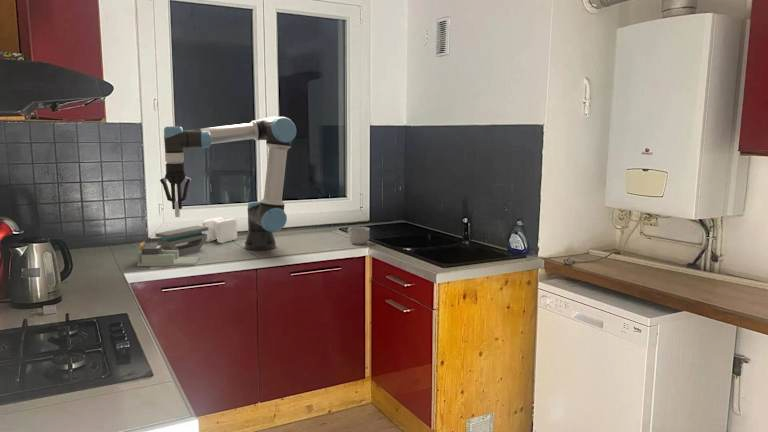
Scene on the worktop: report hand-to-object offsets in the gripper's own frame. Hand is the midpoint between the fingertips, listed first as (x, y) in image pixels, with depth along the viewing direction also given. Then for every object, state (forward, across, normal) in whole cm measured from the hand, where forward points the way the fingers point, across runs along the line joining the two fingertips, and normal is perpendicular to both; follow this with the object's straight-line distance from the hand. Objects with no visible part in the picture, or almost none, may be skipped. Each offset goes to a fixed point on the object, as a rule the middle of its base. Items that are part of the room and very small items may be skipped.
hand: (177, 216), depth 262 cm
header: (+21, +5, 0) cm, 21 cm away
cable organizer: (+21, -10, -47) cm, 52 cm away
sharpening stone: (+21, +3, -20) cm, 29 cm away
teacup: (+22, -82, -38) cm, 93 cm away
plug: (+19, +11, +1) cm, 23 cm away
